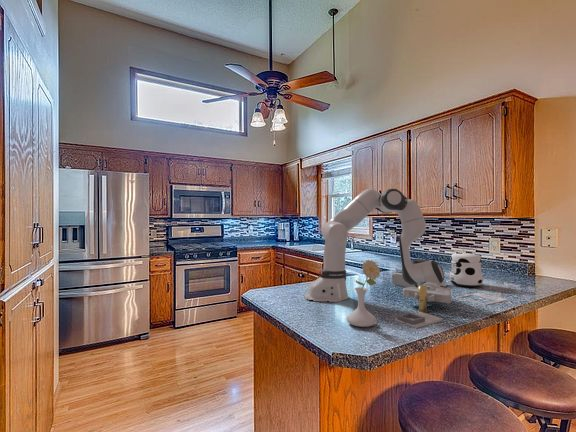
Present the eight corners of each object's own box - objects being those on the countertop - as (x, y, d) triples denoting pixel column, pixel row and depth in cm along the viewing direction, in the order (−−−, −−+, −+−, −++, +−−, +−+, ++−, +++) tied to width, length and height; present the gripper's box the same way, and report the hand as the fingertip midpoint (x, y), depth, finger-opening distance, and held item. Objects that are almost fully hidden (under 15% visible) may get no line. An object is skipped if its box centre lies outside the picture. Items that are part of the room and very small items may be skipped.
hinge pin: (420, 312, 133) (420, 287, 133) (417, 310, 136) (417, 285, 136) (428, 312, 133) (427, 287, 133) (424, 310, 136) (424, 285, 136)
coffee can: (431, 285, 184) (431, 261, 184) (412, 284, 188) (412, 260, 188) (430, 281, 194) (430, 259, 194) (412, 280, 198) (412, 258, 198)
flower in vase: (350, 330, 113) (350, 262, 113) (343, 319, 125) (343, 258, 125) (385, 329, 114) (384, 261, 114) (375, 318, 125) (374, 257, 125)
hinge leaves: (416, 328, 115) (415, 322, 115) (394, 320, 123) (394, 314, 123) (442, 320, 123) (442, 314, 123) (420, 313, 132) (420, 308, 132)
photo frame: (507, 299, 151) (484, 303, 143) (507, 301, 151) (484, 306, 143) (477, 292, 164) (455, 296, 156) (477, 294, 164) (455, 298, 156)
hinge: (421, 288, 176) (417, 272, 174) (416, 292, 174) (411, 276, 172) (399, 283, 191) (394, 268, 189) (393, 286, 189) (389, 271, 187)
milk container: (487, 285, 183) (487, 255, 183) (476, 290, 172) (476, 257, 172) (456, 280, 196) (456, 252, 196) (444, 285, 185) (444, 255, 185)
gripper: (407, 282, 151) (397, 287, 140) (454, 288, 138) (447, 294, 127) (407, 295, 151) (398, 301, 140) (454, 302, 138) (447, 309, 127)
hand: (422, 298), depth 134 cm, fingers closed on hinge pin, 3 cm apart
